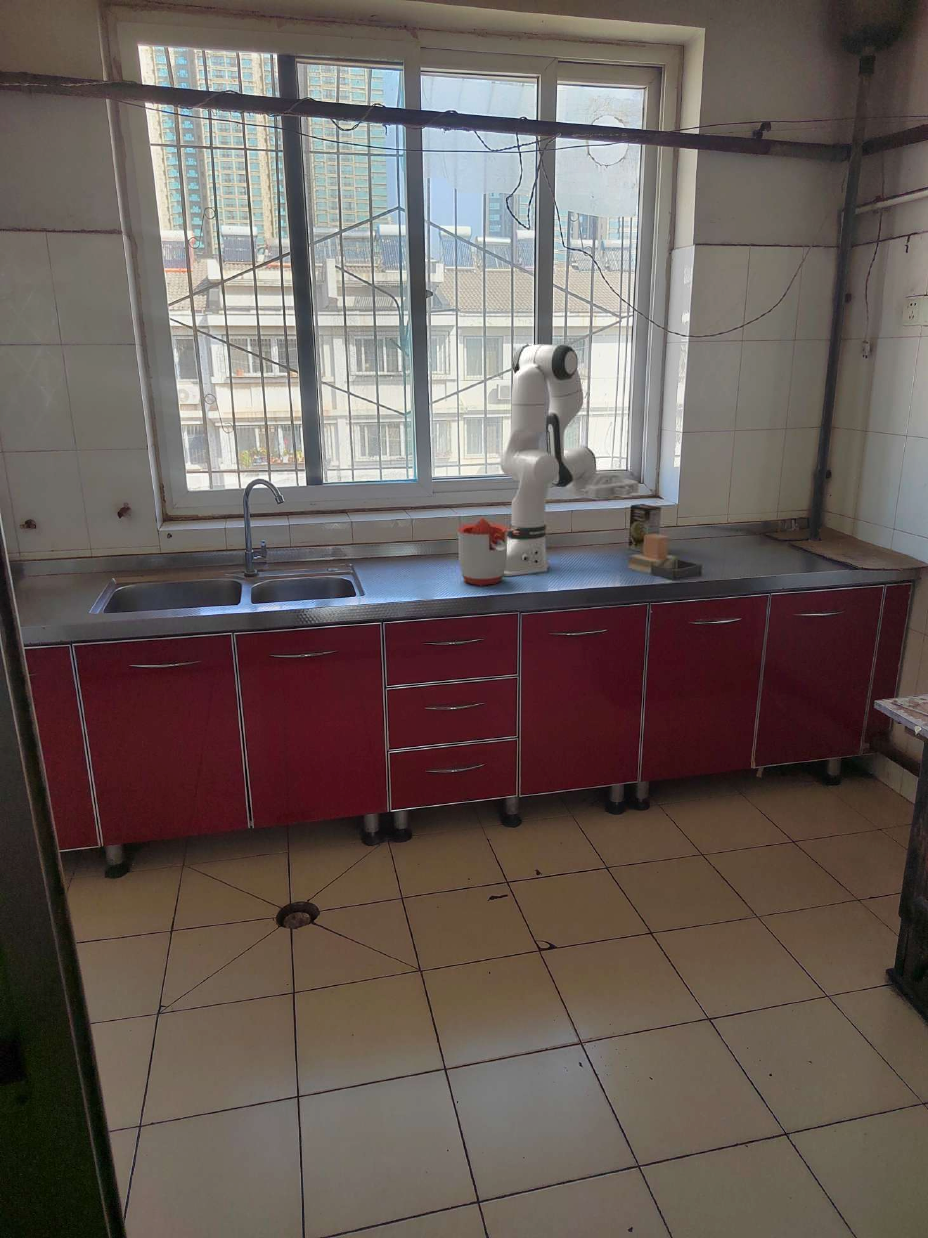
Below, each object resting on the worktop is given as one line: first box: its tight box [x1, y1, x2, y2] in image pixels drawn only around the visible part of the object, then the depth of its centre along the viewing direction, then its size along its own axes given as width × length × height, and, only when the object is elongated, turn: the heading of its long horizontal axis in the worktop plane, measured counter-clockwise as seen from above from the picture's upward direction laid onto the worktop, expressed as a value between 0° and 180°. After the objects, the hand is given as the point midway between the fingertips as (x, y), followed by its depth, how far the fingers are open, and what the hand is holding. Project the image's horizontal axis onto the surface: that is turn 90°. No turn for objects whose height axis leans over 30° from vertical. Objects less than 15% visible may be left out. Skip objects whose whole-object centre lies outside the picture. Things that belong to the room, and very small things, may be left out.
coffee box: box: [628, 503, 662, 553], centre depth 290 cm, size 9×6×16 cm
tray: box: [650, 558, 703, 581], centre depth 259 cm, size 13×9×3 cm
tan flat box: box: [627, 552, 678, 575], centre depth 267 cm, size 12×10×4 cm
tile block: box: [642, 533, 670, 560], centre depth 265 cm, size 5×6×7 cm
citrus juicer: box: [457, 518, 509, 586], centre depth 251 cm, size 16×17×20 cm
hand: (629, 491), depth 270 cm, fingers closed
